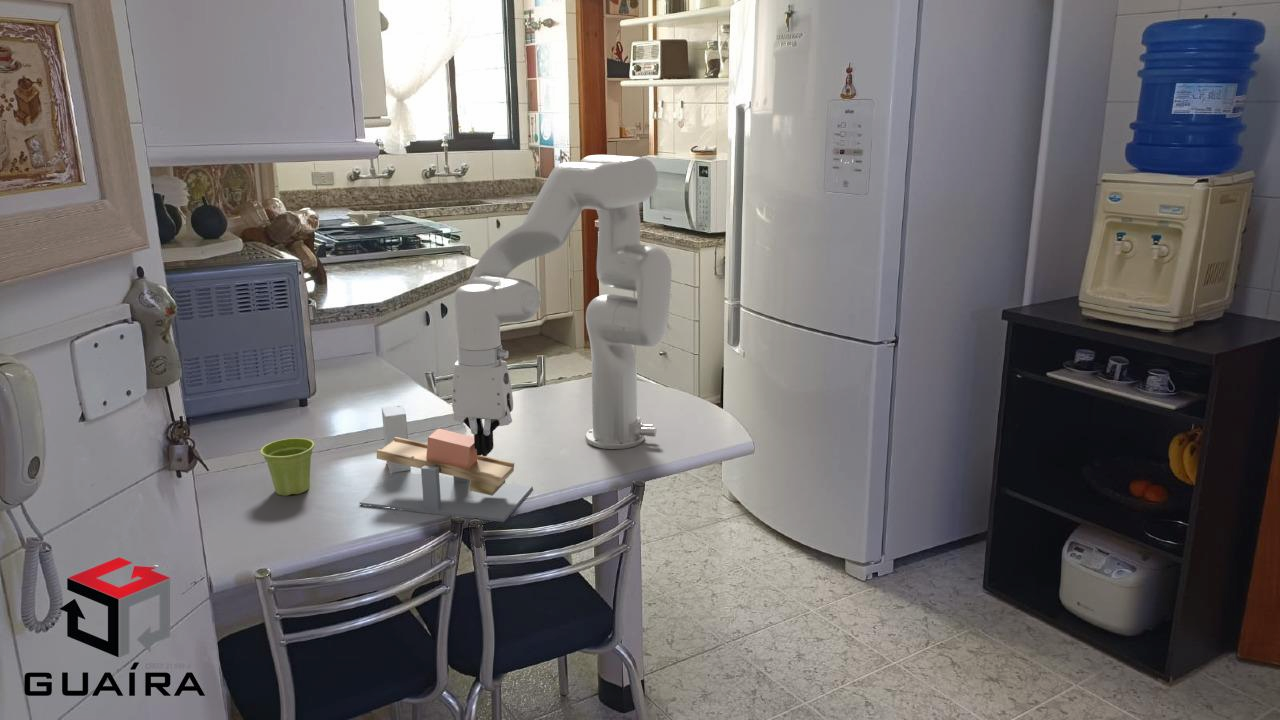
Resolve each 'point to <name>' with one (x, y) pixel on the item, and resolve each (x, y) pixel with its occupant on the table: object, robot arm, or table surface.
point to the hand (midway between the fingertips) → (484, 453)
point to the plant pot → (289, 464)
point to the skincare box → (394, 431)
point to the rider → (451, 449)
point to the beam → (481, 474)
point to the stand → (446, 496)
